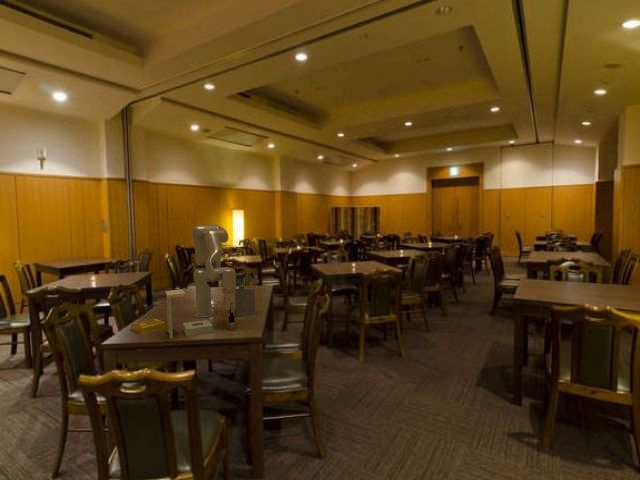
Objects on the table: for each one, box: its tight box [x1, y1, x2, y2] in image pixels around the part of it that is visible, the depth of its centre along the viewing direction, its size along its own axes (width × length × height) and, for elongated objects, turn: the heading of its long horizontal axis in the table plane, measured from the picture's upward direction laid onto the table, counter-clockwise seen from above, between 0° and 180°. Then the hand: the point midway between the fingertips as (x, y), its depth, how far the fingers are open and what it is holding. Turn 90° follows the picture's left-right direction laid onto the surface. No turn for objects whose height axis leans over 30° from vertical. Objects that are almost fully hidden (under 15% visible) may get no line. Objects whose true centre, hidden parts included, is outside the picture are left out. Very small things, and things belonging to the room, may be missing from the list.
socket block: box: [165, 289, 213, 340], centre depth 214 cm, size 14×22×24 cm, turn 115°
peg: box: [226, 307, 235, 330], centre depth 221 cm, size 4×4×12 cm
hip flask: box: [234, 284, 256, 318], centre depth 248 cm, size 16×4×20 cm, turn 103°
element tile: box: [130, 317, 166, 335], centre depth 224 cm, size 15×15×5 cm
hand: (230, 321), depth 221 cm, fingers closed on peg, 4 cm apart
